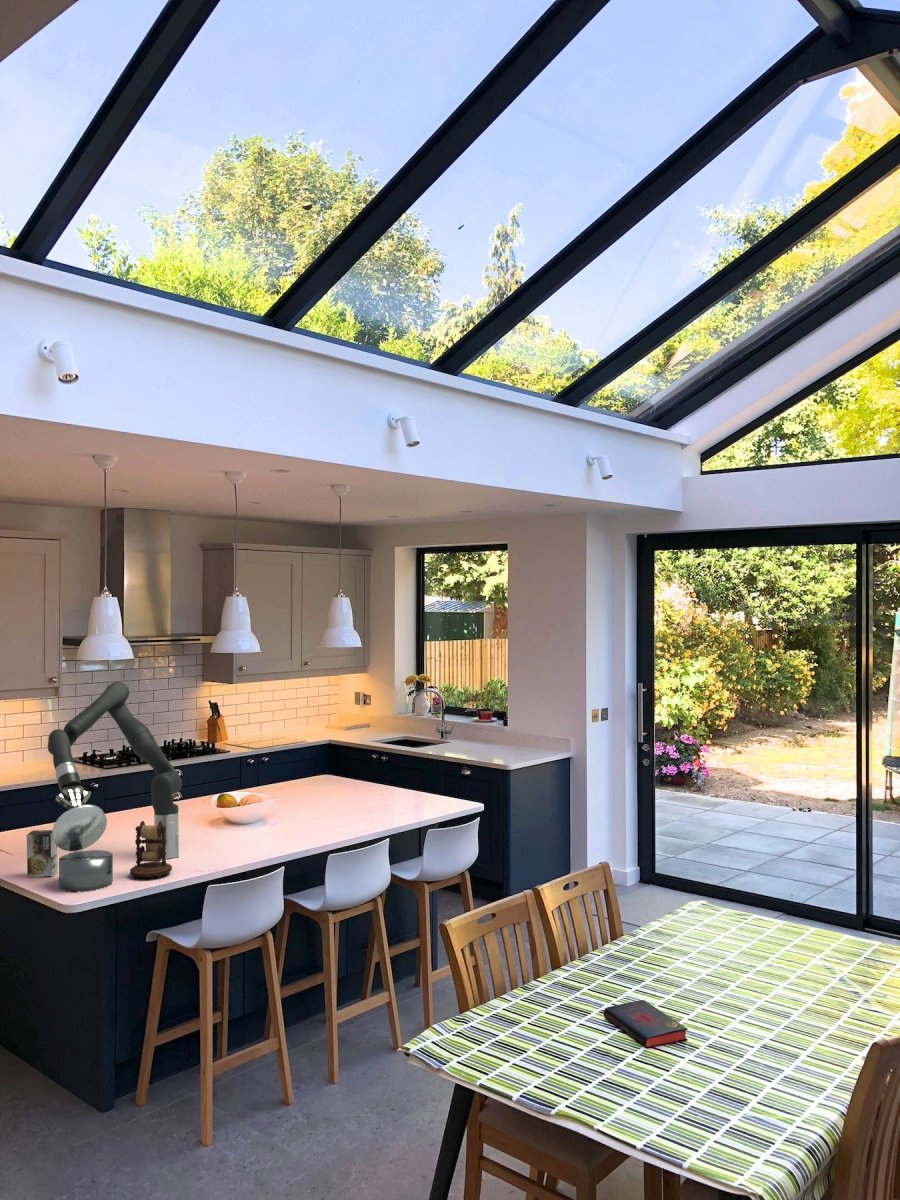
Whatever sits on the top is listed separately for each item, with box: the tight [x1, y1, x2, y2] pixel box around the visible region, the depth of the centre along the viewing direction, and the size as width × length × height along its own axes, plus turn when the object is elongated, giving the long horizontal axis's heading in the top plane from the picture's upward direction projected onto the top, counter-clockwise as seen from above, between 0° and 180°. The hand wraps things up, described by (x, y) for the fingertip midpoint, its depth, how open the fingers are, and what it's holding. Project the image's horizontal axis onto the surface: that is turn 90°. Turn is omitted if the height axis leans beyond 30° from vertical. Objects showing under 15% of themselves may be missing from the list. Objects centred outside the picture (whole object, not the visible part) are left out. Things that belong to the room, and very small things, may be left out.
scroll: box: [129, 820, 173, 880], centre depth 354 cm, size 15×15×20 cm
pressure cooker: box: [58, 849, 114, 892], centre depth 343 cm, size 19×18×10 cm
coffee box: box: [26, 829, 58, 878], centre depth 355 cm, size 9×6×16 cm
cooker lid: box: [51, 803, 108, 852], centre depth 348 cm, size 19×19×3 cm
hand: (79, 816), depth 346 cm, fingers closed
